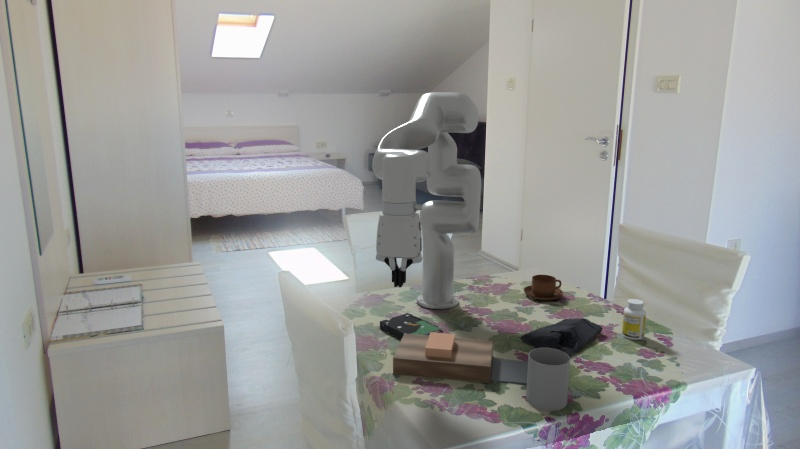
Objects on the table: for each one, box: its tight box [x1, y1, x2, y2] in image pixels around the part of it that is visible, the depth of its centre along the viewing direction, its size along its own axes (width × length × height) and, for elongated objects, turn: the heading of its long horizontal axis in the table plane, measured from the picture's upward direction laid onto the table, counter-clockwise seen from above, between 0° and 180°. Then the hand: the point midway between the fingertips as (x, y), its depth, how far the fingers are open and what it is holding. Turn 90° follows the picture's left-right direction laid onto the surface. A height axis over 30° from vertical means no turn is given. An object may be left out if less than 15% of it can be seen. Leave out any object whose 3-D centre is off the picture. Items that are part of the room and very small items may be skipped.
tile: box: [425, 332, 456, 358], centre depth 138 cm, size 9×6×2 cm, turn 169°
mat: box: [490, 357, 528, 385], centre depth 135 cm, size 11×12×1 cm
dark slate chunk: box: [519, 317, 603, 357], centre depth 153 cm, size 15×22×5 cm
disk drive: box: [379, 312, 444, 340], centre depth 157 cm, size 10×3×15 cm
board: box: [392, 333, 494, 384], centre depth 138 cm, size 14×22×4 cm, turn 79°
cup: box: [525, 348, 571, 412], centre depth 122 cm, size 8×8×10 cm
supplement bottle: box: [621, 298, 647, 341], centre depth 154 cm, size 5×5×10 cm
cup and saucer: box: [523, 274, 564, 301], centre depth 184 cm, size 12×12×6 cm
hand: (398, 285), depth 137 cm, fingers closed
